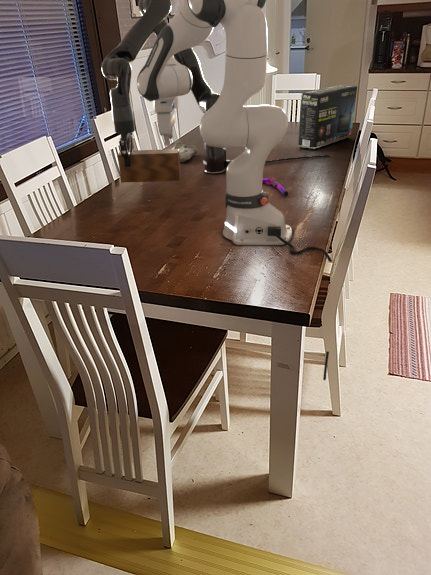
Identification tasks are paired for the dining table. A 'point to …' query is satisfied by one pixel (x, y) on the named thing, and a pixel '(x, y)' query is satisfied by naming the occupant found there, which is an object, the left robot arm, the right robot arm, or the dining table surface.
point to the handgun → (275, 184)
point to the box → (151, 166)
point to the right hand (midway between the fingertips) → (168, 141)
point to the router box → (326, 115)
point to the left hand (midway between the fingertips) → (129, 163)
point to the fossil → (185, 151)
